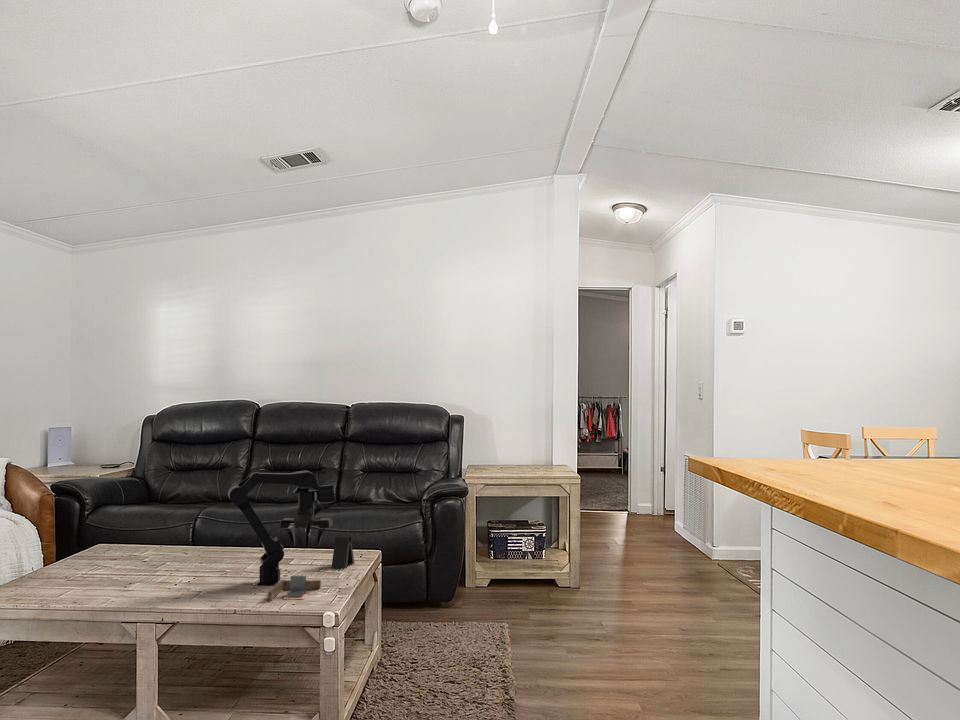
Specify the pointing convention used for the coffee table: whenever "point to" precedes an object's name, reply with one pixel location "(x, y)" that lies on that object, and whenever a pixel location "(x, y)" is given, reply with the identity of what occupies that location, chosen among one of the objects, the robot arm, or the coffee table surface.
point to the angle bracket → (297, 586)
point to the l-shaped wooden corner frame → (287, 585)
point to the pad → (297, 597)
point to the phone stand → (342, 552)
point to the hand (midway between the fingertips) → (306, 546)
